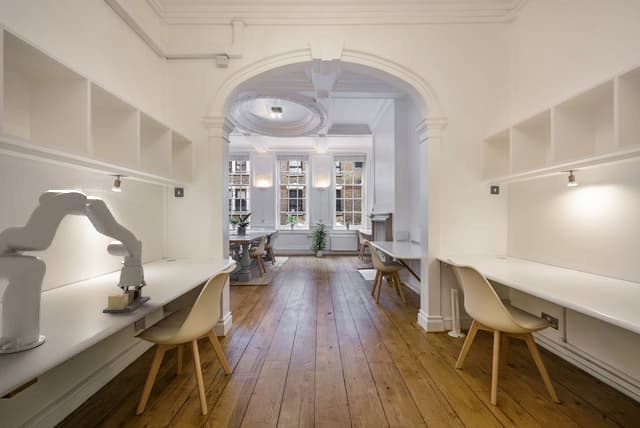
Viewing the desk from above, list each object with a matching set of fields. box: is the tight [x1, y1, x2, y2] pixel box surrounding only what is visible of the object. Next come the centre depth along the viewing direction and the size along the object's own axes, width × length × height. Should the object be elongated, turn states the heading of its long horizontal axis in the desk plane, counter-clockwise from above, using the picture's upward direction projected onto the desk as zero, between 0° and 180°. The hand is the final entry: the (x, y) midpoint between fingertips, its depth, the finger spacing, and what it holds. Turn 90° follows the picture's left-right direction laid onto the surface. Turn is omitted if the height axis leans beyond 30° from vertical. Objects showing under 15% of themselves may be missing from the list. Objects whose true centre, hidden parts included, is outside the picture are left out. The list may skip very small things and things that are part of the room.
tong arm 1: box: [122, 286, 135, 294], centre depth 149 cm, size 15×2×5 cm, turn 10°
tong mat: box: [102, 295, 151, 314], centre depth 146 cm, size 22×12×1 cm, turn 10°
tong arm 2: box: [127, 287, 143, 304], centre depth 150 cm, size 15×2×5 cm, turn 10°
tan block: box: [107, 293, 128, 310], centre depth 136 cm, size 4×7×6 cm, turn 100°
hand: (131, 298), depth 150 cm, fingers open, 3 cm apart
